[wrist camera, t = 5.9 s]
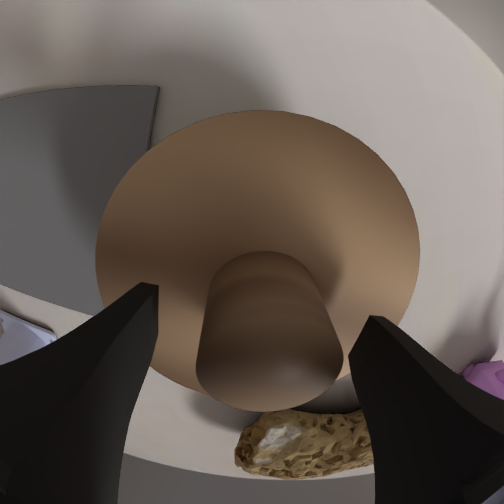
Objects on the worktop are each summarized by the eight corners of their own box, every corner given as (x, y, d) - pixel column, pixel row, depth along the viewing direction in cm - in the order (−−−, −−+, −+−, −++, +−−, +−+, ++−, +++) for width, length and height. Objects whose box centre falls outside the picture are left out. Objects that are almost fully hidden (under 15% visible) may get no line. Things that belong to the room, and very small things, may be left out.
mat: (141, 324, 18) (140, 327, 17) (-2, 280, 16) (-4, 282, 16) (159, 87, 11) (157, 86, 11) (-13, 103, 10) (-16, 104, 9)
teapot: (480, 326, 20) (528, 388, 11) (519, 329, 22) (554, 373, 13) (394, 427, 27) (414, 484, 18) (449, 415, 29) (470, 458, 20)
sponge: (234, 429, 27) (371, 459, 26) (222, 481, 19) (382, 501, 19) (285, 346, 24) (433, 392, 24) (287, 401, 16) (460, 433, 16)
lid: (342, 392, 14) (360, 452, 10) (116, 364, 13) (91, 427, 9) (447, 173, 9) (523, 205, 5) (116, 91, 7) (37, 78, 3)
